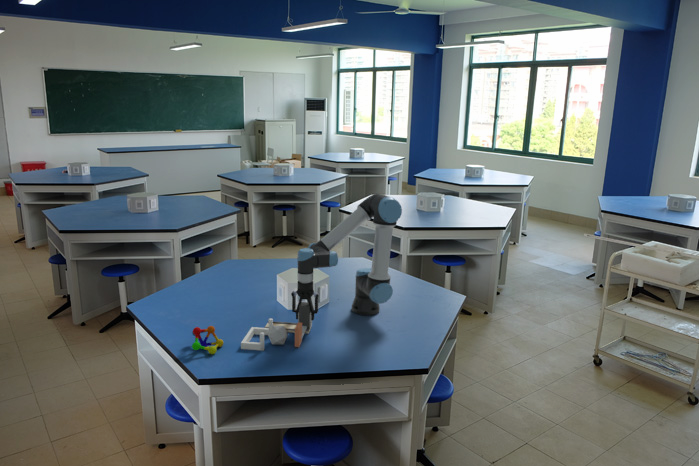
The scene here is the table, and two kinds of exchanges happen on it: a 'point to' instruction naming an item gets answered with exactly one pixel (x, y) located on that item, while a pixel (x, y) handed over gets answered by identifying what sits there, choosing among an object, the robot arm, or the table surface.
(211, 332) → the molecular model
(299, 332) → the rod
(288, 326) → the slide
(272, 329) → the die
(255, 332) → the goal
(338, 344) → the table surface
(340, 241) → the robot arm
